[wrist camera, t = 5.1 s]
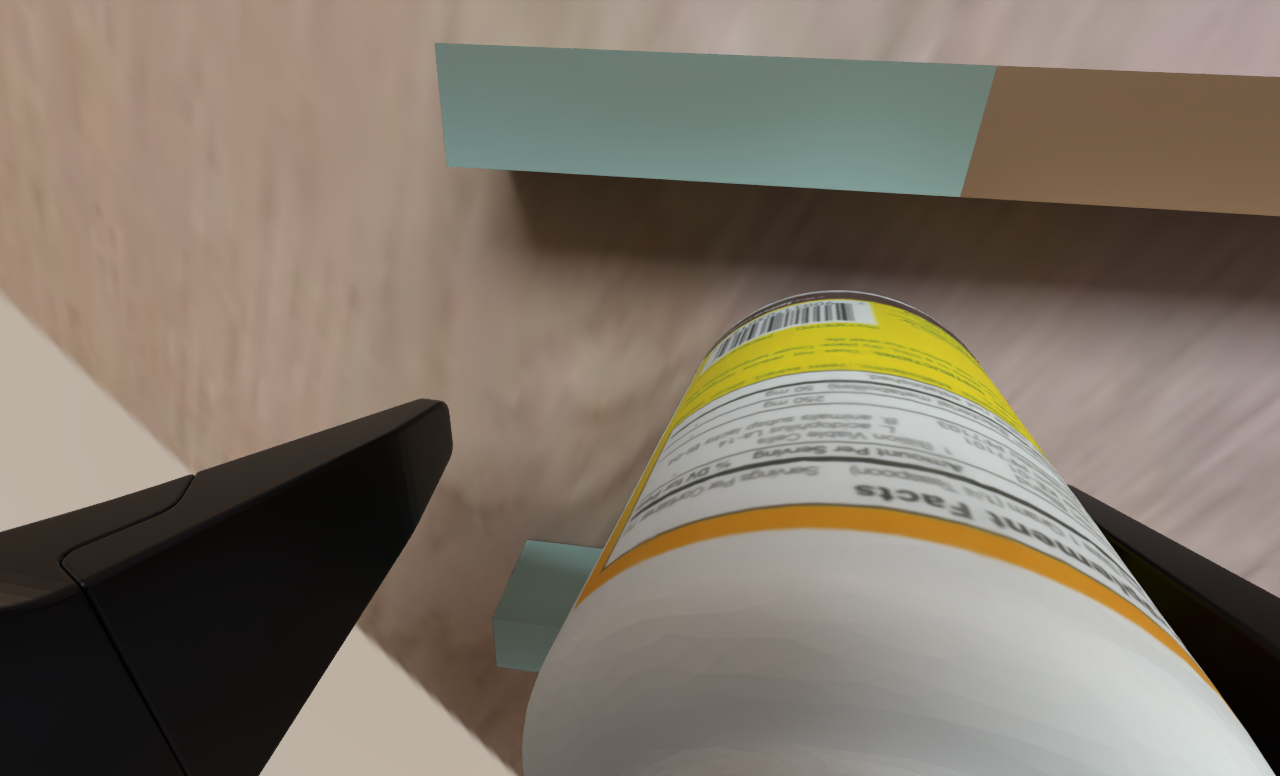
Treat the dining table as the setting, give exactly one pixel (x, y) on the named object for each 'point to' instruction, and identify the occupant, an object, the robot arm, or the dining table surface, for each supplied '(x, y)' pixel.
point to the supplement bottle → (864, 585)
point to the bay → (844, 160)
